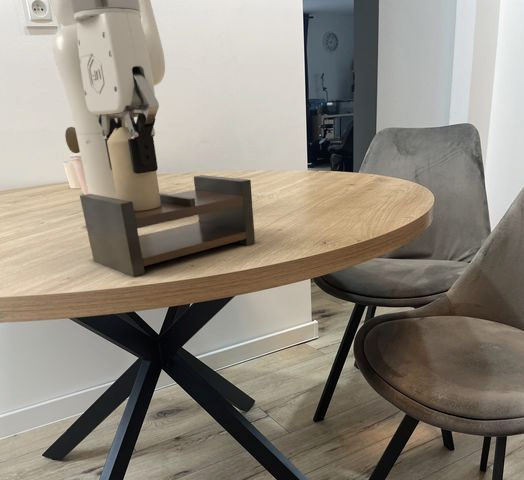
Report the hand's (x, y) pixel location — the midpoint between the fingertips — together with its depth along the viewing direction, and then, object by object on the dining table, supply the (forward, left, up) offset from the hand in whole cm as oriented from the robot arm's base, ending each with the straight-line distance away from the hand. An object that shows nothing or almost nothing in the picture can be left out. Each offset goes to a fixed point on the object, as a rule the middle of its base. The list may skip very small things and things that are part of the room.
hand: (133, 169), depth 66 cm
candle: (0, 0, -5) cm, 5 cm away
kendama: (-57, +19, -12) cm, 61 cm away
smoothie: (-70, +22, -12) cm, 75 cm away
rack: (0, +4, -12) cm, 13 cm away
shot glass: (-86, +26, -12) cm, 91 cm away
